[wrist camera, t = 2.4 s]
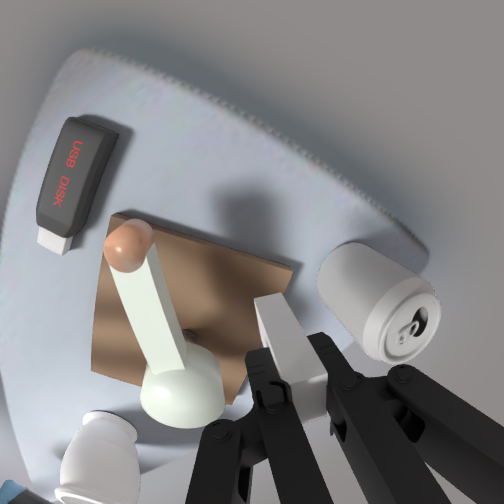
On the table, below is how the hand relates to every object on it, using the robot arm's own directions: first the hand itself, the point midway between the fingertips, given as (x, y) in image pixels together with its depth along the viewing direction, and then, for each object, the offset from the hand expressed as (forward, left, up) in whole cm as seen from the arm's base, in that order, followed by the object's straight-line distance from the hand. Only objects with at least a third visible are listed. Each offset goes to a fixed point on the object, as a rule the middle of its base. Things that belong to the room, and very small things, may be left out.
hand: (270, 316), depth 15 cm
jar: (-31, +10, -12) cm, 34 cm away
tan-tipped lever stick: (-5, +5, -5) cm, 9 cm away
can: (+1, -11, -12) cm, 16 cm away
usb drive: (+1, +17, -12) cm, 21 cm away
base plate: (-9, +4, -12) cm, 15 cm away
